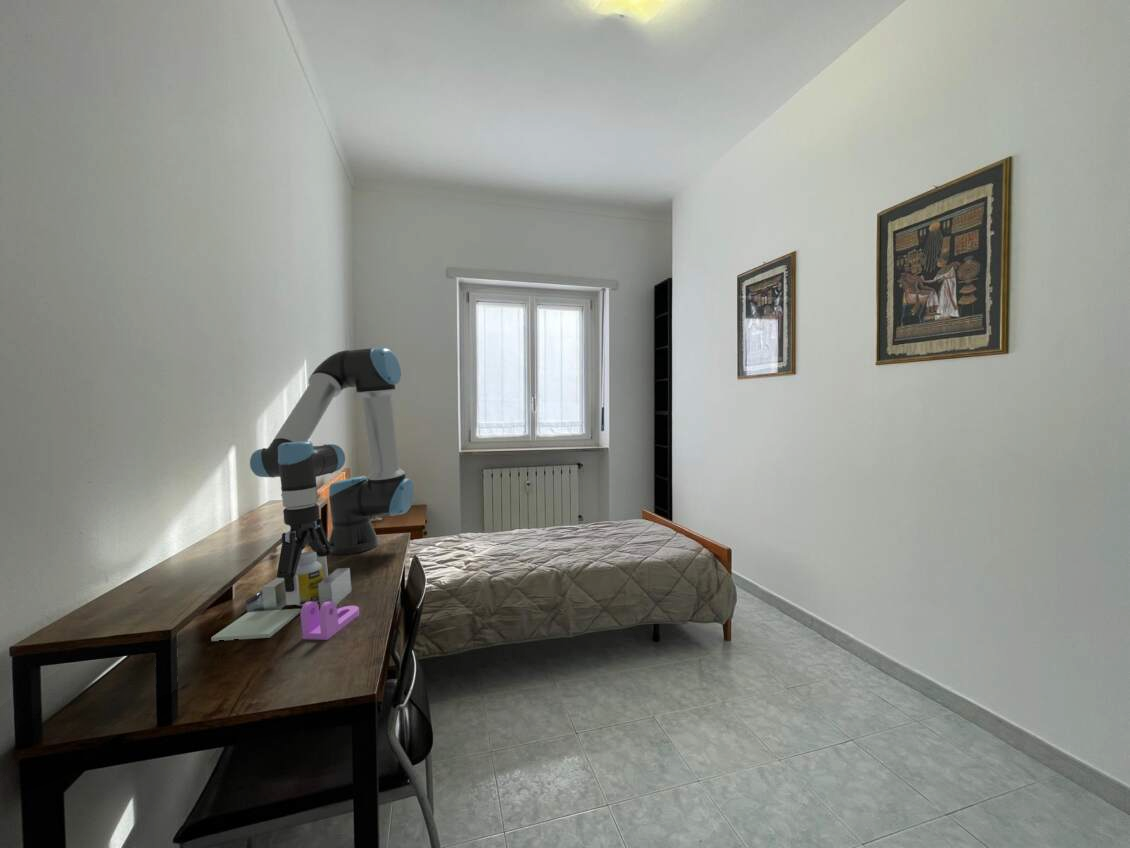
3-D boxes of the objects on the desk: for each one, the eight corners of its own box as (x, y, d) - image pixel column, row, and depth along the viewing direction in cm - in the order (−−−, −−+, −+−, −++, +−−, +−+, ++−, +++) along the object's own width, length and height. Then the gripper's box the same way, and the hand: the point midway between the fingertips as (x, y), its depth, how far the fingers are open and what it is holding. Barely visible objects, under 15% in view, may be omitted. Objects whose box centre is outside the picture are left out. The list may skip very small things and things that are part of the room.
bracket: (327, 640, 98) (324, 606, 98) (302, 639, 99) (299, 606, 99) (364, 611, 111) (361, 581, 111) (342, 611, 112) (339, 581, 112)
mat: (248, 615, 113) (248, 611, 113) (300, 611, 113) (300, 608, 113) (211, 641, 101) (211, 637, 101) (269, 637, 101) (269, 633, 101)
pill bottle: (305, 609, 114) (300, 560, 114) (288, 604, 117) (284, 557, 117) (330, 598, 120) (326, 551, 119) (314, 594, 123) (310, 549, 122)
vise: (268, 596, 124) (265, 573, 123) (351, 591, 124) (349, 567, 123) (242, 613, 114) (239, 588, 113) (333, 608, 114) (330, 582, 113)
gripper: (311, 496, 130) (318, 574, 131) (252, 519, 105) (262, 616, 106) (340, 494, 130) (346, 572, 131) (287, 517, 105) (296, 613, 106)
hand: (309, 592), depth 118 cm, fingers open, 13 cm apart
